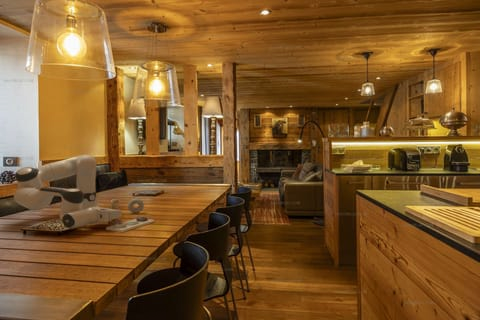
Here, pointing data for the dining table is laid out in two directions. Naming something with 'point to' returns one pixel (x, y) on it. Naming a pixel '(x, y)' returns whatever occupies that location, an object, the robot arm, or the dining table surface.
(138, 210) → the donut
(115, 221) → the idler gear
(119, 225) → the gear board
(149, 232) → the dining table surface
